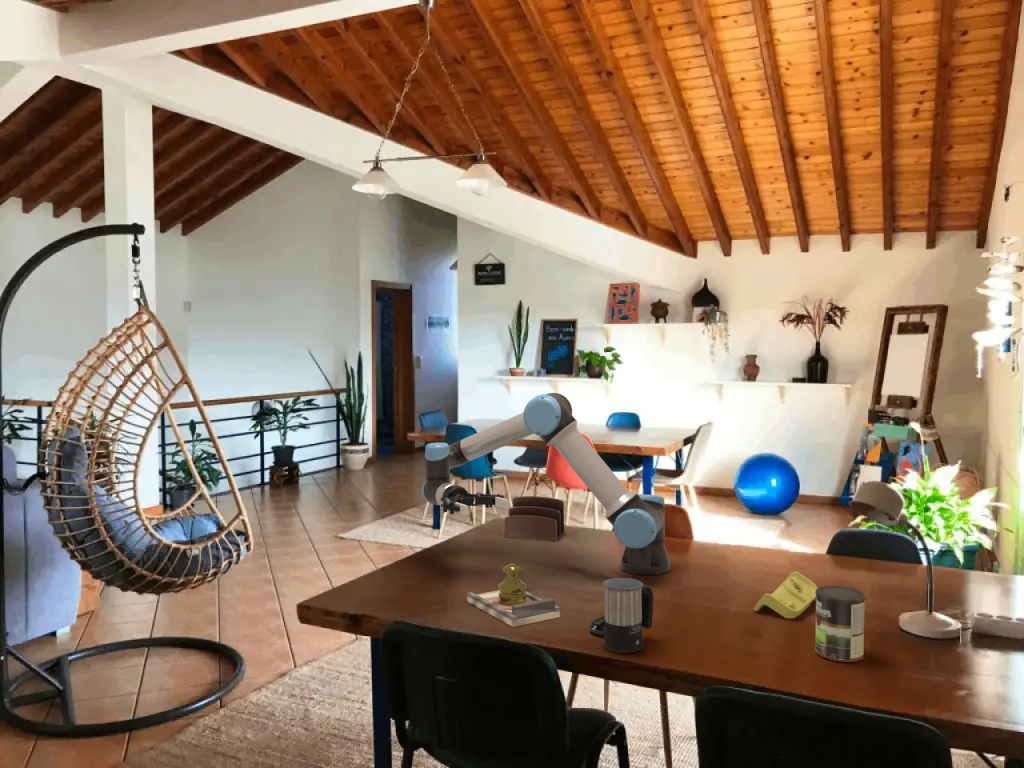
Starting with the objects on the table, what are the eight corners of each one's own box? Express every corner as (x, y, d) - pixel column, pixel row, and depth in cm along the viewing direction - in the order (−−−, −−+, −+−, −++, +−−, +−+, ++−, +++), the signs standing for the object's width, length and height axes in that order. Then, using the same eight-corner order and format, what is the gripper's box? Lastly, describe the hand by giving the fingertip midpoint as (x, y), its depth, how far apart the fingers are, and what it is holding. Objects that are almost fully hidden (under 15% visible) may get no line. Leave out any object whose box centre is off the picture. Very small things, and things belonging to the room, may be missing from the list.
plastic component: (796, 613, 205) (761, 589, 211) (784, 636, 208) (750, 612, 213) (824, 589, 220) (790, 567, 226) (812, 610, 223) (779, 588, 228)
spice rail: (467, 601, 224) (466, 585, 224) (511, 593, 231) (511, 577, 231) (513, 627, 203) (513, 609, 203) (560, 617, 211) (559, 599, 210)
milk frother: (632, 657, 184) (632, 591, 183) (570, 643, 192) (570, 580, 191) (658, 637, 195) (658, 576, 195) (598, 625, 204) (598, 566, 203)
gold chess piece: (493, 604, 215) (493, 566, 215) (504, 596, 222) (504, 559, 222) (520, 607, 212) (520, 569, 212) (530, 599, 219) (530, 562, 219)
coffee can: (827, 664, 179) (828, 600, 178) (807, 647, 189) (807, 586, 188) (873, 662, 179) (874, 598, 179) (850, 645, 190) (851, 584, 189)
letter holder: (513, 532, 306) (513, 494, 306) (564, 536, 300) (564, 497, 299) (504, 538, 297) (503, 499, 296) (557, 542, 290) (556, 502, 290)
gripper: (488, 504, 260) (524, 515, 242) (416, 514, 246) (449, 526, 229) (487, 480, 259) (524, 489, 241) (415, 489, 246) (448, 499, 228)
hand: (487, 507), depth 235 cm, fingers open, 13 cm apart
